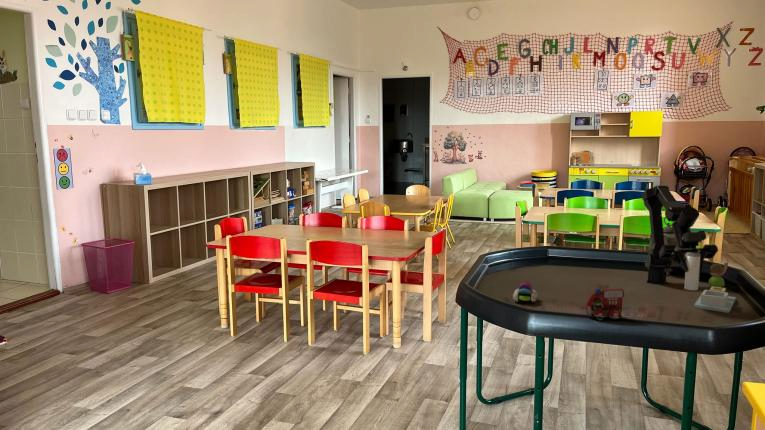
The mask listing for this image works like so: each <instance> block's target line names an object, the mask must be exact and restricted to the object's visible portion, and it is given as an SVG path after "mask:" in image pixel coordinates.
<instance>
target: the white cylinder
mask: <svg viewBox="0 0 765 430" xmlns="http://www.w3.org/2000/svg"><path fill="white" fill-rule="evenodd" d="M700 255H701V254H700V253H698V252H687V254H686V257H685V261H686V264H687V268H688V272H685V271H684V272H685V273H684V288H683V289H684V290H688V291H698V290H699V281H700V271H699V269H700Z"/></svg>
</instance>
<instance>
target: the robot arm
mask: <svg viewBox="0 0 765 430" xmlns="http://www.w3.org/2000/svg"><path fill="white" fill-rule="evenodd" d="M641 200H643V205H644V207H645V208H646V209H647V211H648V214H649V226H650V235H651V238H652V246H651V248H650V250H649V249H648V254H647V257H646V259H645V260H644V266H645V268H647V269H648V270H647V280H646V283H649V284H655V285H656V284H657V285H665V283H667V282H668V276H667V269H670V267H671V268H672V266H671V262H672V260H673V261H675V262H676V263H677V264H678V265H679V266H678V267H680V268H681V269H682V270H683V271H684V272H688V268H687V264H686V258H685V259H684V254H686V255H687V252H698V253H700V254H701V255H700V269H699V273H702V272H703V265H704V261H705V259H713V258H714V257H715V256H716V255H717V253H718V252H719V248H718V246H717V245H716V244H714V243H713V244H712V243H711V244H704V245H703V247H698V246H699V243H700V242H702V241H705V240H706V239H707V234H706V231H705V230H699V231H692V230H691V228H692V227H693V226H694V225H695V223H696V222H697V220H698V218H699V217H700V211H698V209H696V208H695V207H693V206H692V205H691V204H683V203H681V202H679V201H677V199H676V198H675V197H674V195H673V194H672V192H671V191H670V188H669V186H667V185H656V186H655V185H654V186H653V187H651V188H647V189H645V190H644V191H643V192H642V193H641ZM662 208H664V209H665V211H664V218H665V217H666V220H667V221H668V222H672V221H674V223H673V222H672V223H673V225H672V226H671V227H672V229H671V231H673V232H674V235H675V239H676V240H675V244H677V246H678V247H675V245H674V244H665V242H664V232H663V228H664V226H663V225H664V224H663V223H664V221H663V214H662V213H663V212H662Z"/></svg>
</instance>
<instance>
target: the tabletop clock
mask: <svg viewBox="0 0 765 430" xmlns="http://www.w3.org/2000/svg"><path fill="white" fill-rule="evenodd" d="M666 220H667V218H666V217H665V216H664V218H663V223H664V225H666V226H663V232H664V242H665V244H674V245H675V247H678V246H677V244H675V240H676V239H675V235H674V232H673V231H671V229H672V225H673V223H674V222H675V221H671V224H670V221H668V222H666ZM651 246H652V238H651V234H650V235H649V241H648V251H649V250H650V248H651ZM686 255H687V254H684V259H685V260H686ZM672 267H680V266H679V265H678V264H677V263H676V262H675V261H673V260H672V262H671V267H670V269H666V271H667V277H668V276H670V273H672V272H673V269H672Z"/></svg>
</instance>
